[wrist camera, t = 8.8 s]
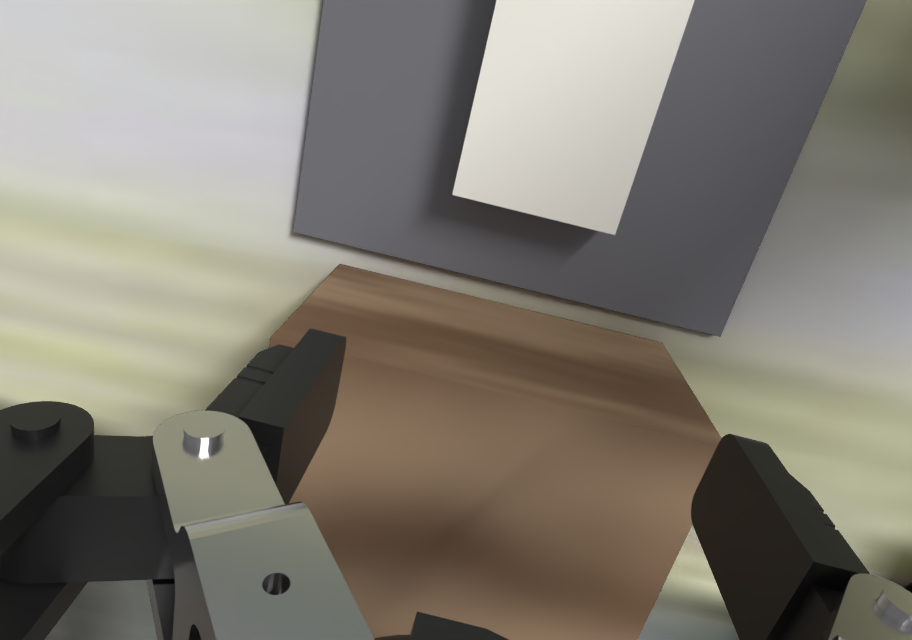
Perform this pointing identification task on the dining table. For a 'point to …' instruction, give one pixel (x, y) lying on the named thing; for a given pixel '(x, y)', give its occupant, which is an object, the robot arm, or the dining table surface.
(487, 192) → the card box
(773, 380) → the dining table surface
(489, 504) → the walnut block
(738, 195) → the mat
